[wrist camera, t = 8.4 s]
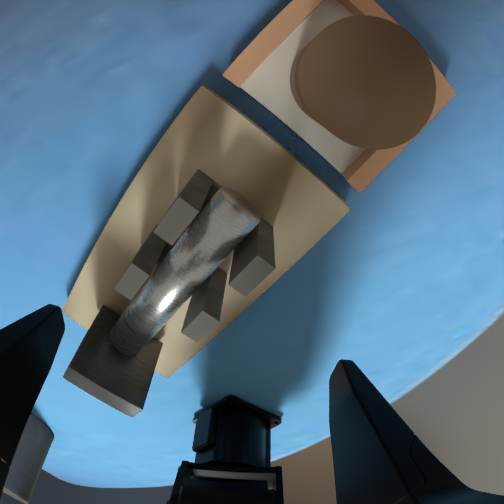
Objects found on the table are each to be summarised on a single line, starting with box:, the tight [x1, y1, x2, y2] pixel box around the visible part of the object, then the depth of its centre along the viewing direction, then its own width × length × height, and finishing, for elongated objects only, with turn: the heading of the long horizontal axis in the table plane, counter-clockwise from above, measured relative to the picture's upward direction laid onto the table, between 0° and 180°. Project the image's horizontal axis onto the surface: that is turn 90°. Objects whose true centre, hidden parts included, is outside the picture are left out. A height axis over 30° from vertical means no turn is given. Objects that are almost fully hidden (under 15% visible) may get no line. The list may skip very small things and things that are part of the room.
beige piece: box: [62, 85, 351, 378], centre depth 18 cm, size 10×19×5 cm, turn 140°
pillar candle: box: [3, 414, 54, 504], centre depth 30 cm, size 10×10×15 cm
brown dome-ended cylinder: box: [290, 15, 436, 150], centre depth 12 cm, size 5×5×6 cm
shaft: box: [63, 187, 260, 418], centre depth 16 cm, size 5×14×6 cm, turn 140°
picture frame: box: [222, 0, 456, 193], centre depth 14 cm, size 9×8×2 cm
